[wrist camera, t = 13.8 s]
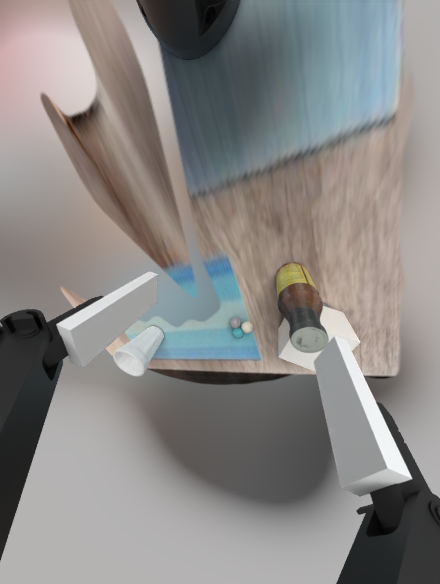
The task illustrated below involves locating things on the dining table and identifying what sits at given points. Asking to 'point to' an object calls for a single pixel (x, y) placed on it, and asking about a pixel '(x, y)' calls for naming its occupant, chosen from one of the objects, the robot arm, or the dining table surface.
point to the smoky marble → (235, 322)
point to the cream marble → (247, 327)
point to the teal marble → (238, 332)
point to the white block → (334, 326)
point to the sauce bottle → (301, 308)
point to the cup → (139, 351)
